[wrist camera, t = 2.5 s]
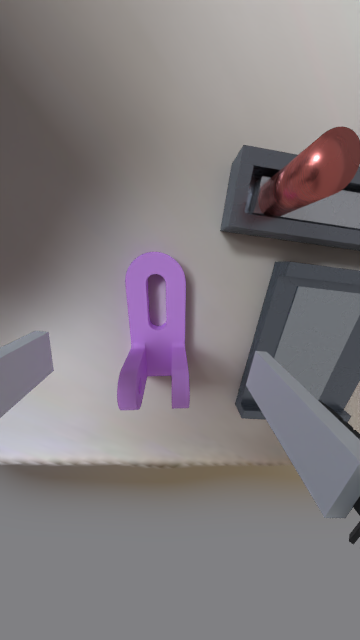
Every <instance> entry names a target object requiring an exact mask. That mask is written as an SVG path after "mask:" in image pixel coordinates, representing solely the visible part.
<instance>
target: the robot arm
mask: <svg viewBox="0 0 360 640" xmlns="http://www.w3.org/2000/svg"><path fill="white" fill-rule="evenodd" d="M53 371H54V370H53V362H52V355H51V348H50V340H49V333H48V332H42V331H34V332H32V333H30V334H28V335H26V336H23V337H21V338H19V339H17V340H15V341H13V342H11V343H9V344H7V345H5V346H3V347H1V348H0V418H1V417H2V416H3V415H4V414H5V413H6V412H7V411H9V410H10V409H11V408H12V407H13V406H14V405H15V404H16V403H18V402H19V401H20V400H21V399H22V398H23V397H24V396H25V395H27V394H28V393H29V392H30V391H31V390H32V389H33V388H34V387H36V386H37V385H38V384H39V383H40V382H41V381H42V380H44V379H45V378H46V377H47V376H48V375H49V374H50V373H51V372H53ZM246 386H247V388H248V390H249V391H250V393H251V395H252V396H253V398H254V400H255V402H256V403H257V405H258V407H259V408H260V410H261V412H262V413H263V415H264V417H265V418H266V420H267V422H268V423H269V425H270V427H271V428H272V430H273V432H274V434H275V435H276V437H277V439H278V440H279V442H280V444H281V445H282V447H283V449H284V450H285V452H286V454H287V455H288V457H289V459H290V461H291V462H292V464H293V466H294V467H295V469H296V471H297V472H298V474H299V476H300V477H301V479H302V481H303V482H304V484H305V486H306V487H307V489H308V491H309V493H310V494H311V496H312V497H313V499H314V501H315V503H316V504H317V506H318V508H319V509H320V511H321V513H322V514H323V516H324V518H346V517H347V515H348V514H349V512H350V511H351V510H352V508H353V507H354V509H355V510H356V511H357V513H358V514H359V515H360V434H359V433H358V432H357V431H356V430H353V427H352V426H350V425H349V424H348V423H347V422H346V421H344V420H343V418H342V417H341V416H340V415H338V414H337V413H336V412H335V411H334V410H333V409H332V408H330V407H329V406H327V405H326V404H324V403H323V402H321V401H320V400H317V399H316V398H315V397H314V396H313V395H312V394H311V393H310V392H309V391H308V390H307V389H305V388H304V387H303V386H302V385H301V384H300V383H299V382H298V381H297V380H296V379H295V378H294V377H293V376H292V375H291V374H290V373H289V372H288V371H286V370H285V369H284V368H283V367H282V366H281V365H280V364H279V363H278V362H277V361H276V360H275V359H274V358H273V357H272V356H271V355H270V354H268V353H267V352H264V351H255V355H254V358H253V362H252V365H251V369H250V372H249V376H248V379H247V383H246ZM359 537H360V522H359V523H358V524H357V526H356V527H355V528H354V529H353V531H352V532H351V533H350V536H349V542H351V543H352V544H354V543H355V542H356V541H357V539H358V538H359Z"/></svg>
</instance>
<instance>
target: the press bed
mask: <svg viewBox="0 0 360 640" xmlns="http://www.w3.org/2000/svg"><path fill="white" fill-rule="evenodd" d="M255 351H264V352H267V353H268V354H270V355H271V356H272V357H273V358H274V359H275V360H276V361H277V362H278V363H279V364H280V365H281V366H282V367H283V368H284V369H285V370H286V371H288V372H289V373H290V374H291V375H292V376H293V377H294V378H295V379H296V380H297V381H298V382H299V383H300V384H301V385H302V386H303V387H304V388H305V389H307V390H308V391H309V392H310V393H311V394H312V395H313V396H314V397H315V398H316V399H317V400H320V401H321V402H323V403H324V404H326V405H327V406H329V407H330V408H332V409H333V410H334V411H335V412H336V413H337V414H338V415H340V416H341V417H342V418H343V420H344V421H346V422H347V423H348V421H349V419H350V417H351V416H350V415H349V414H348V413H347V412H346V411H345V410H344V408H345V406H346V404H347V403H348V401H349V399H350V397H351V395H352V394H353V392H354V390H355V388H356V386H357V385H358V383H359V381H360V271H357V270H349V269H341V268H334V267H326V266H319V265H311V264H303V263H296V262H275V265H274V269H273V272H272V276H271V279H270V283H269V286H268V290H267V293H266V297H265V300H264V304H263V307H262V311H261V314H260V318H259V321H258V325H257V328H256V332H255V335H254V339H253V343H252V346H251V350H250V353H249V357H248V360H247V364H246V367H245V371H244V374H243V378H242V381H241V385H240V388H239V392H238V395H237V399H236V402H235V405H236V407H237V409H238V411H239V414H240V416H241V418H248V419H266V418H265V417H264V415H263V413H262V412H261V410H260V408H259V407H258V405H257V403H256V402H255V400H254V398H253V396H252V395H251V393H250V391H249V390H248V388H247V386H246V383H247V379H248V376H249V372H250V369H251V365H252V362H253V358H254V355H255Z"/></svg>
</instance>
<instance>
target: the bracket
mask: <svg viewBox="0 0 360 640" xmlns="http://www.w3.org/2000/svg"><path fill="white" fill-rule="evenodd" d="M152 274H159V275H161V276H162V277H163V278H164V279H165V282H166V311H167V321H166V323H165V324H163V325H161V326H156V325H154V324H152V323H151V321H150V315H149V298H148V278H149V276H150V275H152ZM125 283H126V294H127V304H128V314H129V324H130V334H131V350H130V352H129V354H128V356H127V358H126V360H125V363H124V365H123V367H122V369H121V372H120V376H119V380H118V389H117V400H118V406H119V409H120V410H139V409H140V407H141V403H142V398H143V394H144V389H145V384H146V380H147V376H172V408H189V402H190V388H189V371H188V364H187V357H186V351H185V301H186V280H185V275H184V272H183V270H182V268H181V266H180V265H179V264H178V262H177V261H176V260H175V259H173V258H172V257H170V256H169V255H167V254H164V253H160V252H149V253H145V254H142V255H140V256H139V257H137V258H136V259H135V260H134V261H133V262H132V263H131V264H130V266H129V268H128V270H127V273H126V279H125Z"/></svg>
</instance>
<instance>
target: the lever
mask: <svg viewBox="0 0 360 640" xmlns="http://www.w3.org/2000/svg"><path fill="white" fill-rule="evenodd" d="M359 164H360V140H359V138H358V136H357V134H356V133H355V132H354V131H353V130H351V129H349V128H347V127H336V128H333V129H330V130H329V131H327V132H325V133H324V134H323V135H322V136H320V137H319V138H318V139H317V140H316V141H314V142H313V143H312V144H311V145H310V146H308V147H307V148H306V149H305V150H304V151H303V152H301V153H300V154H299V155H298V156H297V157H295V158H294V159H293V160H292V161H291V162H289V163H288V164H287V165H286V166H285V167H283V168H282V169H281V170H280V171H279V172H277V173H276V174H275V175H274V176H273V177H271V178H270V177H264V176H262V177H261V178H260V179H259V180H258V181H256V184H255V188H254V193H253V198H252V202H251V207H250V211H249V214H253V215H260V216H266V217H273V218H279V219H286V220H293V221H299V222H306V223H312V224H319V225H325V226H332V227H338V228H345V229H351V230H358V231H360V193H356V192H351V191H345V190H343V189H344V188H345V187H346V186H347V185H348V184H349V183H350V182H351V180H352V179H353V178H354V176H355V174H356V172H357V170H358V167H359Z"/></svg>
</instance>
